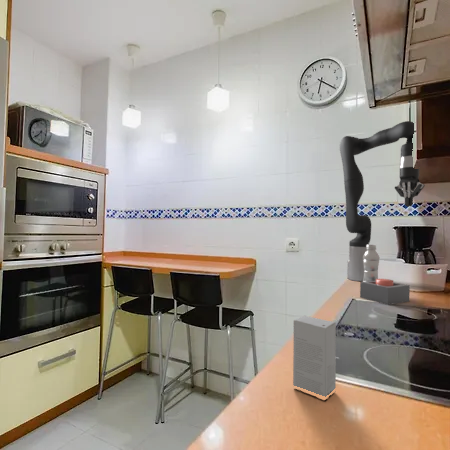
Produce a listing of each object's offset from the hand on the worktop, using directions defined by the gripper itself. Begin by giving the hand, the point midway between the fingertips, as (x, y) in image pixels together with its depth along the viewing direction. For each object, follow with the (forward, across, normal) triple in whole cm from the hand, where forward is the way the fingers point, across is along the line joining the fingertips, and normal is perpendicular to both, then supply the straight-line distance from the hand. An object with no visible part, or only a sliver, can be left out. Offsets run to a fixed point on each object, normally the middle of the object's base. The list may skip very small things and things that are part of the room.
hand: (408, 206), depth 140 cm
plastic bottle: (+37, +2, +21) cm, 43 cm away
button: (+34, -9, +27) cm, 45 cm away
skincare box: (+37, -50, +97) cm, 115 cm away
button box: (+37, -9, +27) cm, 47 cm away
